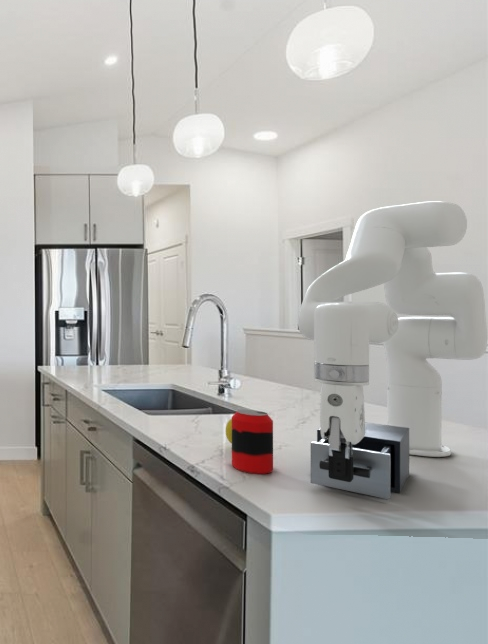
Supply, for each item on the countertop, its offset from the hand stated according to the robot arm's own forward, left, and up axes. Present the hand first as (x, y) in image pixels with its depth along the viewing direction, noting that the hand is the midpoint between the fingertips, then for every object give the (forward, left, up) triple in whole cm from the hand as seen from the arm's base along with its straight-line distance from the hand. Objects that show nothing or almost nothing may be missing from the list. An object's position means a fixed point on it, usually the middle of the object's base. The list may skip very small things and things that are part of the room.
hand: (340, 478), depth 87 cm
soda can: (-11, -17, -5) cm, 21 cm away
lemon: (-25, -24, -5) cm, 35 cm away
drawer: (-11, 0, -4) cm, 12 cm away
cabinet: (-22, 0, -5) cm, 22 cm away
